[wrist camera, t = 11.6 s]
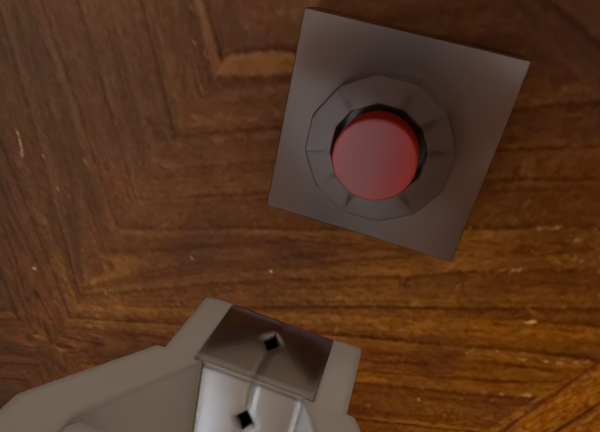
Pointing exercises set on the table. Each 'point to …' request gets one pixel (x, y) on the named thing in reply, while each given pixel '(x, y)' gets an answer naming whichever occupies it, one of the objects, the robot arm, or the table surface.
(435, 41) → the control block
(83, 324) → the table surface
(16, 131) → the table surface
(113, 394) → the robot arm
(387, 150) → the button
